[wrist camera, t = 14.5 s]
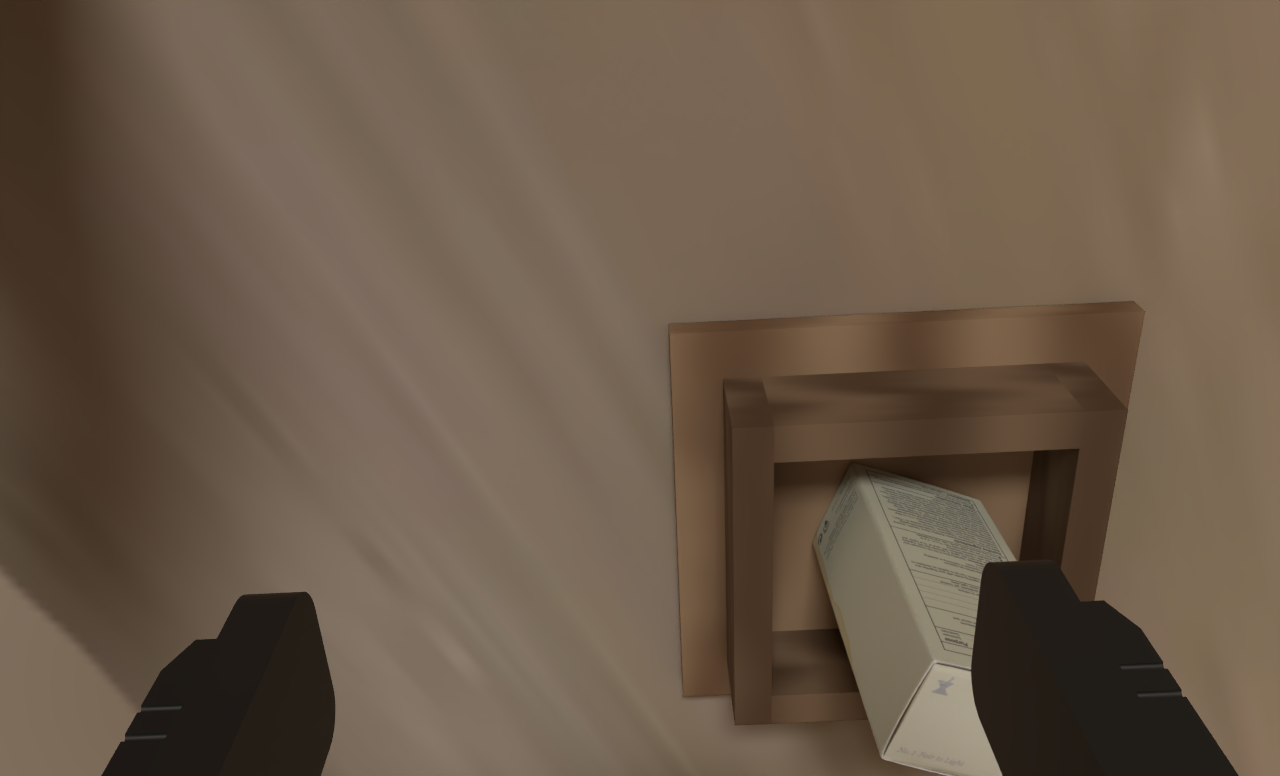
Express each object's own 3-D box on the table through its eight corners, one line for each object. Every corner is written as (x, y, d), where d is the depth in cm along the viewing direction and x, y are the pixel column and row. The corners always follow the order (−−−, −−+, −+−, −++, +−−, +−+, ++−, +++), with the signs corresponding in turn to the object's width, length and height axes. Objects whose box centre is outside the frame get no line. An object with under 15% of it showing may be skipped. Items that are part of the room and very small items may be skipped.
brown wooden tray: (682, 681, 50) (687, 763, 45) (668, 323, 42) (673, 380, 37) (1071, 663, 49) (1116, 744, 45) (1133, 301, 41) (1195, 355, 37)
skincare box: (808, 541, 45) (867, 761, 34) (852, 454, 43) (928, 657, 32) (943, 580, 46) (1042, 805, 35) (991, 496, 44) (1111, 707, 33)
